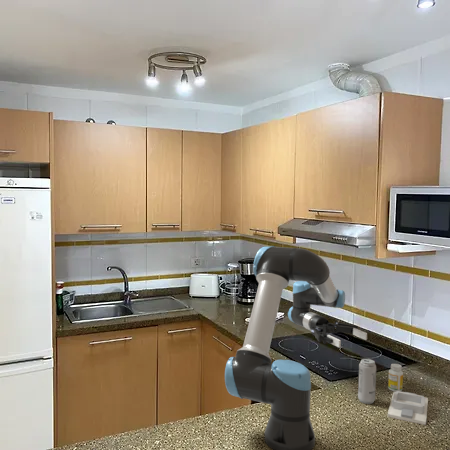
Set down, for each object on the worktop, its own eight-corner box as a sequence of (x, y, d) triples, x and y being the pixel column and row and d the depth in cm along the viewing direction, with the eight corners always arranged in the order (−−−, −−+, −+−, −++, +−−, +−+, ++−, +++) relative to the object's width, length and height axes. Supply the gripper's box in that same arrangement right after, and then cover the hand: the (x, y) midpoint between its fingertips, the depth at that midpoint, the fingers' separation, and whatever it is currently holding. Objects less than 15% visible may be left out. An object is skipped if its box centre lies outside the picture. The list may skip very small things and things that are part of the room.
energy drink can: (373, 406, 159) (374, 365, 159) (356, 402, 162) (357, 361, 162) (376, 399, 165) (377, 360, 164) (359, 396, 168) (361, 357, 167)
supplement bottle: (391, 392, 172) (392, 367, 171) (385, 386, 177) (386, 363, 177) (405, 391, 172) (406, 367, 172) (398, 386, 178) (399, 362, 177)
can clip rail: (425, 425, 146) (426, 414, 146) (387, 416, 151) (387, 406, 151) (427, 400, 165) (428, 391, 165) (393, 394, 170) (394, 385, 170)
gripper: (338, 326, 192) (376, 342, 174) (292, 338, 180) (328, 357, 162) (338, 309, 191) (376, 324, 173) (292, 320, 179) (328, 337, 161)
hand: (353, 340), depth 167 cm, fingers open, 13 cm apart
